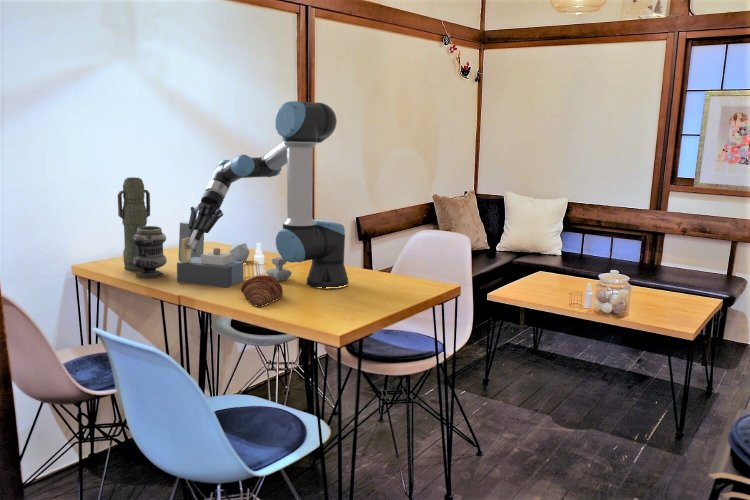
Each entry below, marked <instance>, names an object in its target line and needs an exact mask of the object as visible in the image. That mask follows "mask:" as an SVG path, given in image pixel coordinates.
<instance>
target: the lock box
mask: <svg viewBox="0 0 750 500" xmlns="http://www.w3.org/2000/svg"><path fill="white" fill-rule="evenodd" d="M176 279H177V280H176V281H177V283H181V284H182V283H183V284H192V285H199V286H211V287H216V288H217V287H219V288H227V289H228V288H229V287H232V286H234V285H236V284H238V283H240V282H244V262H241V261H233V262H231V263H228V264H225V265H215V264H205V263H201V258H200V257H193V258H191V262H189V263H183V262H181V261H179V262H176Z"/></svg>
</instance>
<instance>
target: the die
mask: <svg viewBox="0 0 750 500" xmlns="http://www.w3.org/2000/svg"><path fill="white" fill-rule="evenodd" d="M228 253H232V254H233V261H241V262H242V261H246V262H247V260H248V257H249V255H250V250H249V247H248V245H247V243H246V242H232V244H231V247H230V249H229V251H228Z"/></svg>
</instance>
